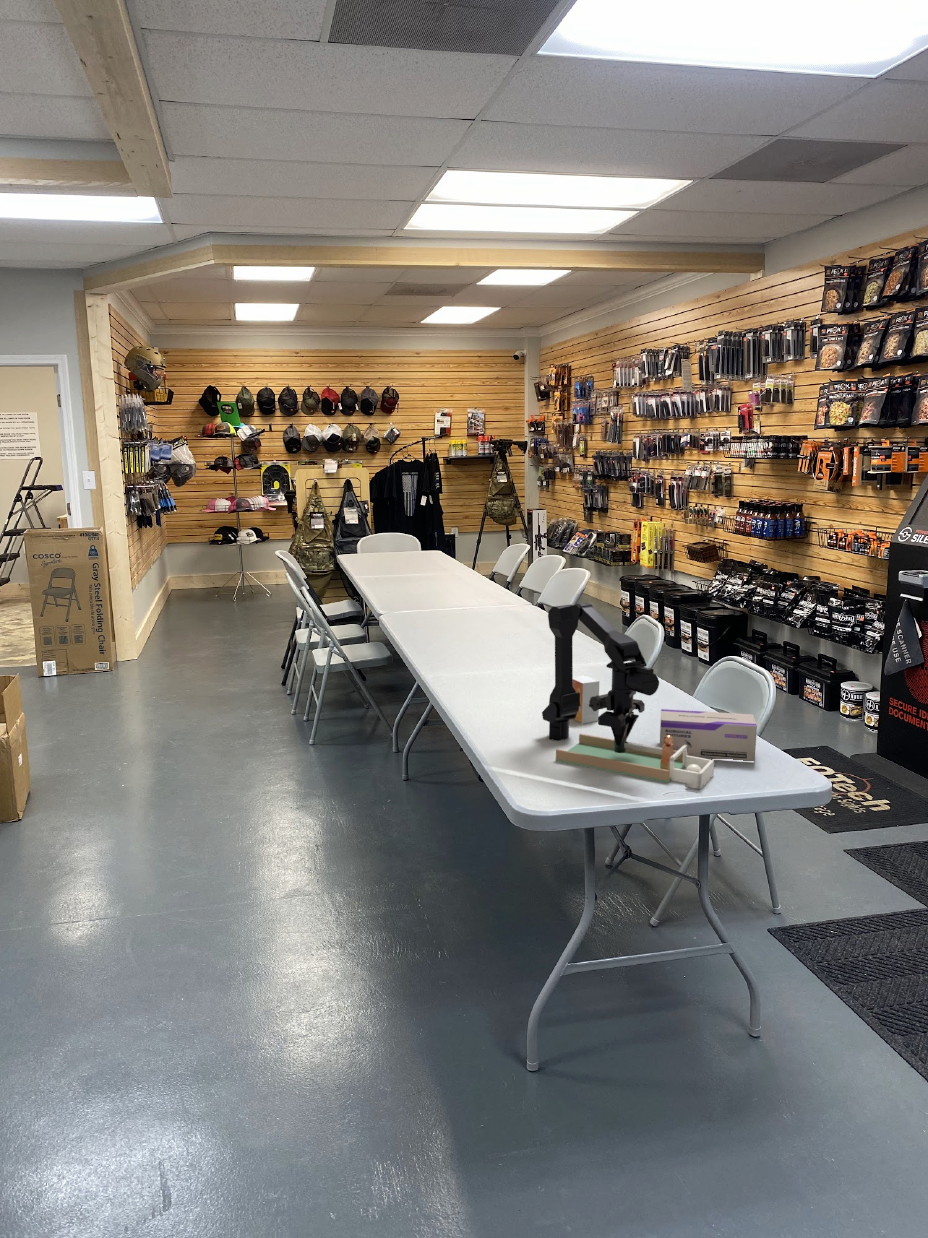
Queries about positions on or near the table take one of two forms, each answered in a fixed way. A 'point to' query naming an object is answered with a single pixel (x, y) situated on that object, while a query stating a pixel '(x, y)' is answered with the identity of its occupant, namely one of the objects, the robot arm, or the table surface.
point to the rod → (650, 749)
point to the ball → (693, 768)
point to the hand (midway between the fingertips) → (620, 743)
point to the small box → (586, 698)
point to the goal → (689, 776)
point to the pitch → (616, 759)
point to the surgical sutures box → (711, 733)
